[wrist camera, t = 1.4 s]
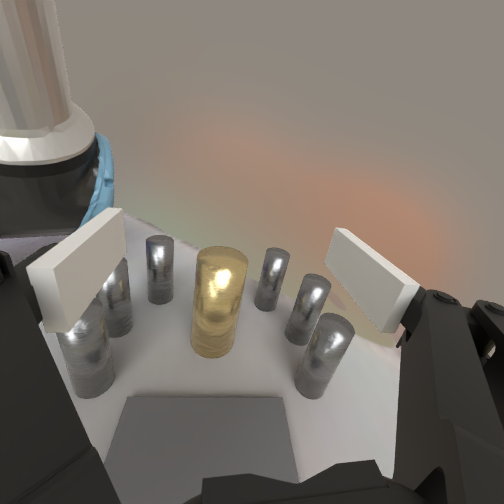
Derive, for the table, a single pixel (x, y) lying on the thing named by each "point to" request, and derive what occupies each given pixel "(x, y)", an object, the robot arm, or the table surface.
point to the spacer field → (161, 292)
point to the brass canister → (217, 299)
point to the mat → (196, 445)
